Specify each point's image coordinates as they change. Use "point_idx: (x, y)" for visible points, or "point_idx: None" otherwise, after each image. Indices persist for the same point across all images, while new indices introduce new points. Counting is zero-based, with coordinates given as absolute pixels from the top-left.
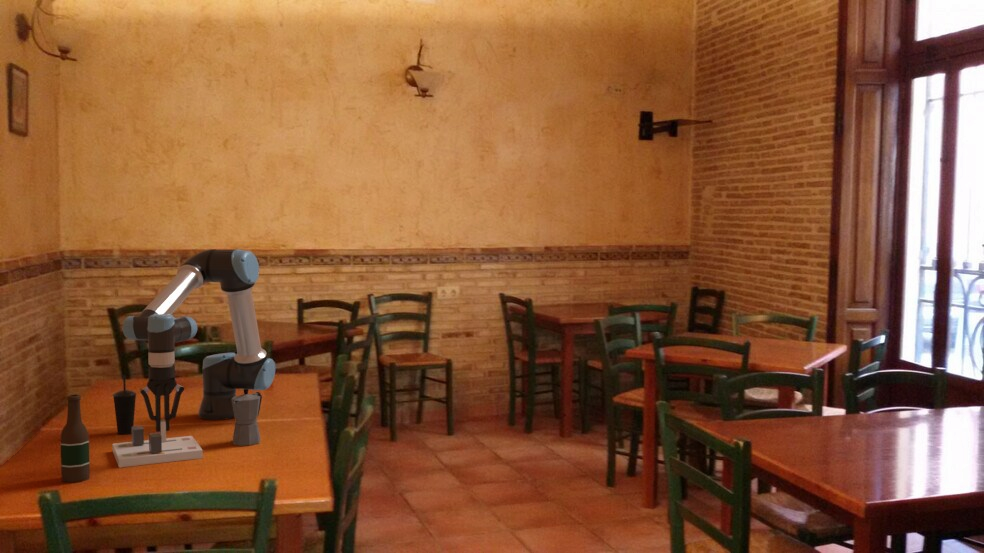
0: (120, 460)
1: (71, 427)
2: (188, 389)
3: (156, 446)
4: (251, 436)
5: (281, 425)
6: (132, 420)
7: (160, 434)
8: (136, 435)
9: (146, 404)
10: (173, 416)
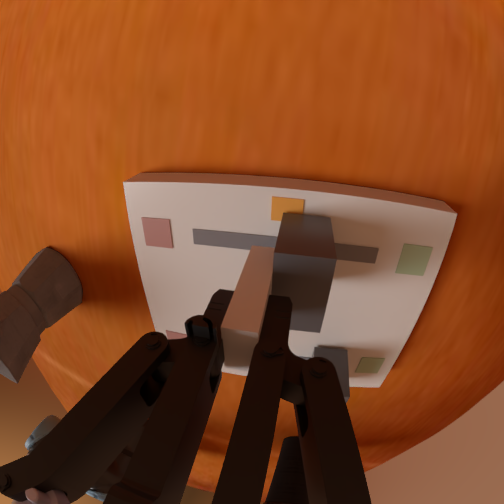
0: (450, 210)
1: None
2: (190, 478)
3: (305, 228)
4: (32, 261)
5: (44, 340)
6: (282, 458)
7: (271, 286)
8: (338, 377)
9: (366, 488)
10: (154, 339)
